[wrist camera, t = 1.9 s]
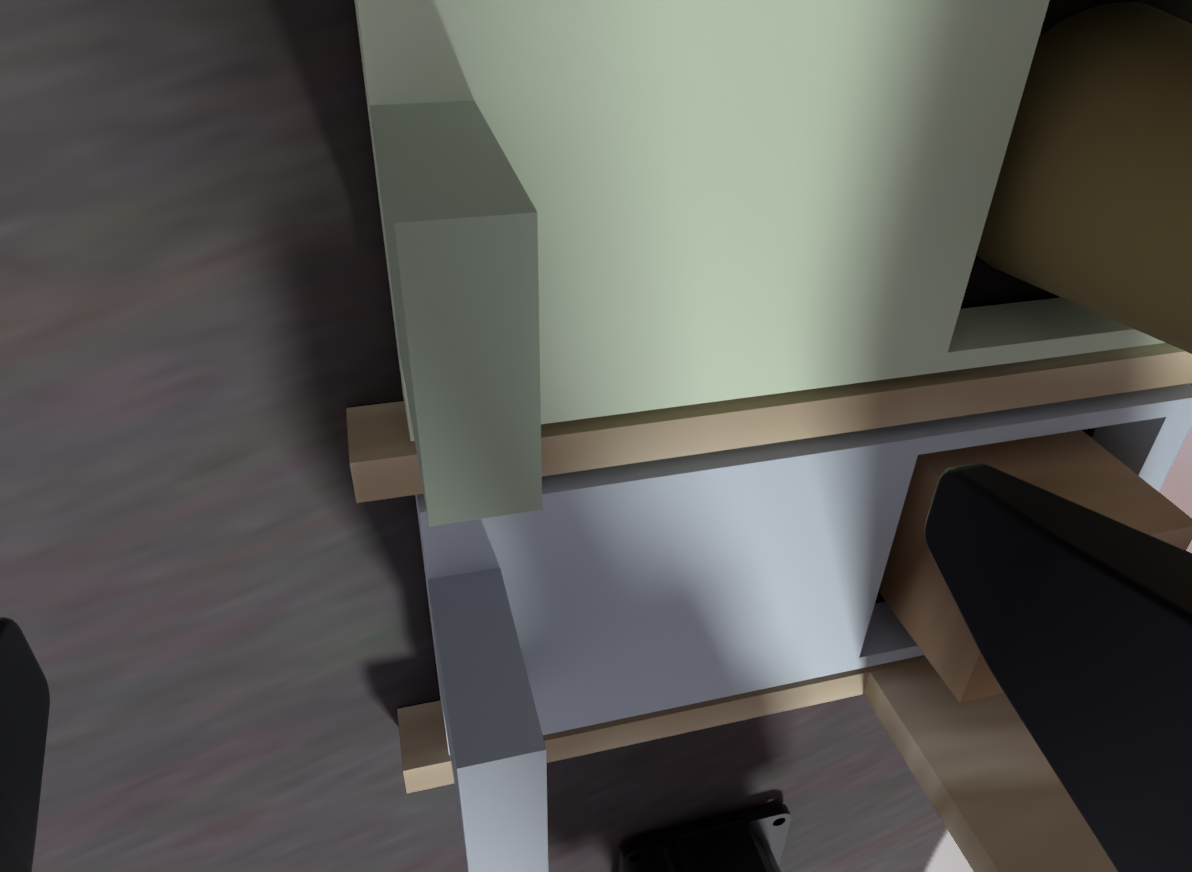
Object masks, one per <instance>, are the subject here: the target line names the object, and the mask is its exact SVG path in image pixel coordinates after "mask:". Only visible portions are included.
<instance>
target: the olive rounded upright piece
mask: <svg viewBox="0 0 1192 872" xmlns="http://www.w3.org/2000/svg"><path fill="white" fill-rule="evenodd" d="M976 255H977V256H978V257H979V258H981V259H982V260H983V261H984V262H985V263H987V264H988V265H989V266H990V267H993V268H995V269H997V270H999V271H1002V272H1004V273H1006V274H1009V275H1011V276H1013V277H1016V278H1018V279H1020V280H1022V281H1025V282H1027V283H1029V284H1032V285H1034V286H1036V287H1039V288H1041V289H1043V290H1046V291H1048V292H1050V293H1052V294H1055V295H1057V296H1059V297H1062V298H1064V299H1066V300H1069V301H1071V302H1073V303H1075V304H1078V305H1080V306H1082V307H1085V308H1087V309H1089V310H1092V311H1094V312H1096V313H1099V314H1101V315H1103V316H1105V317H1108V318H1110V319H1112V320H1115V321H1117V322H1119V323H1122V324H1124V325H1126V326H1128V327H1131V328H1133V329H1135V330H1138V331H1140V332H1142V333H1145V334H1147V335H1149V336H1151V337H1154V338H1156V339H1158V340H1161V341H1163V342H1165V343H1168V344H1170V345H1172V346H1175V347H1177V348H1179V349H1181V350H1184V351H1186V352H1188V353H1191V354H1192V24H1190V23H1188V22H1186V21H1184V20H1181V19H1179V18H1177V17H1175V16H1173V15H1171V14H1168V13H1166V12H1164V11H1162V10H1159V9H1157V8H1155V7H1152V6H1150V5H1148V4H1145V3H1143V2H1141V1H1140V2H1120V3H1102V4H1099V5H1097V6H1095V7H1092V8H1090V9H1088V10H1085V11H1083V12H1080V13H1078V14H1076V15H1073V16H1071V17H1068V18H1066V19H1064V20H1061V21H1059V22H1058V23H1057V24H1055V25H1054V26H1053V27H1052V28H1050V29H1049V30H1048V31H1046V32H1045V33H1044V34H1043V35H1041V36H1040V37H1039V39H1038V42H1037V46H1036V49H1035V53H1034V56H1033V59H1032V63H1031V66H1030V70H1029V73H1028V77H1027V80H1026V84H1025V87H1024V90H1023V94H1022V97H1021V101H1020V104H1019V108H1018V111H1017V115H1016V118H1015V122H1014V125H1013V128H1012V132H1011V135H1010V139H1009V142H1008V146H1007V149H1006V153H1005V156H1004V160H1003V163H1002V166H1001V170H1000V173H999V177H998V180H997V184H996V187H995V191H994V194H993V197H992V201H991V204H990V208H989V211H988V215H987V218H986V222H985V225H984V229H983V232H982V235H981V239H980V242H979V246H978V249H977V253H976Z"/></svg>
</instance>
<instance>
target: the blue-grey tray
mask: <svg viewBox="0 0 1192 872" xmlns="http://www.w3.org/2000/svg"><path fill="white" fill-rule="evenodd" d="M1191 425H1192V386H1191V385H1190V384H1181V385H1174V386H1167V387H1160V388H1153V389H1146V390H1139V391H1132V392H1125V393H1118V394H1111V395H1104V396H1097V397H1090V398H1084V399H1077V400H1070V401H1063V402H1056V403H1049V404H1042V405H1035V406H1028V407H1021V408H1014V409H1007V410H1000V411H993V412H986V413H979V414H972V415H966V416H959V417H952V418H945V419H938V420H931V421H924V422H917V423H910V424H903V425H896V426H889V427H882V428H875V429H868V430H861V431H854V432H848V433H841V434H834V435H827V436H820V437H813V438H806V439H799V440H792V441H785V442H778V443H771V444H764V445H757V446H750V447H743V448H736V449H730V450H723V451H716V452H709V453H702V454H695V455H688V456H681V457H674V458H667V459H660V460H653V461H646V462H639V463H632V464H625V465H618V466H612V467H605V468H598V469H591V470H584V471H577V472H570V473H563V474H556V475H549V476H542V510H536V511H529V512H522V513H516V514H509V515H503V516H496V517H490V518H483V519H477V520H470V521H463V522H457V523H450V524H444V525H437V526H431V527H429V523H428V517H427V511H426V505H425V500H424V494H417V495H415V496H416V504H417V512H418V521H419V529H420V537H421V545H422V553H423V561H424V569H425V577H426V586H427V594H428V602H429V610H430V618H431V626H432V634H433V642H434V650H435V659H436V667H437V675H438V683H439V691H440V699H441V706H442V713H443V719H444V726H445V733H446V740H447V746H448V753H449V755H450V757H451V764H452V771H453V777H454V784H455V790H456V797H457V804H458V810H459V817H460V824H461V830H462V837H463V844H464V850H465V857H466V864H467V870H468V872H548V822H547V762H546V746H545V743H544V739H543V735H547V734H552V733H557V732H561V731H566V730H571V729H576V728H580V727H585V726H590V725H595V724H599V723H604V722H609V721H614V720H618V719H623V718H628V717H633V716H637V715H642V714H647V713H652V712H656V711H661V710H666V709H671V708H675V707H680V706H685V705H690V704H694V703H699V702H704V701H709V700H713V699H718V698H723V697H728V696H732V695H737V694H742V693H747V692H751V691H756V690H761V689H765V688H770V687H775V686H780V685H784V684H789V683H794V682H799V681H803V680H808V679H813V678H818V677H822V676H827V675H832V674H837V673H841V672H846V671H851V670H856V669H860V668H865V667H870V666H875V665H879V664H884V663H889V662H894V661H898V660H903V659H908V658H913V657H917V656H922V655H924V654H923V652H922V651H921V650H920V648H919V647H918V645H917V644H916V643H915V641H914V640H913V639H912V637H911V636H910V634H909V633H908V632H907V630H906V629H905V628H904V626H903V625H902V623H901V622H900V621H899V619H898V618H897V617H896V615H895V614H894V612H893V611H892V610H891V608H890V607H889V606H888V604H887V603H886V602H881V603H876V604H875V601H876V598H877V594H878V591H879V588H880V584H881V581H882V577H883V574H884V570H885V567H886V563H887V560H888V556H889V553H890V550H891V546H892V543H893V539H894V536H895V532H896V529H897V525H898V522H899V518H900V515H901V512H902V508H903V505H904V501H905V498H906V494H907V491H908V487H909V484H910V481H911V477H912V474H913V470H914V467H915V463H916V460H917V456H918V455H921V454H927V453H934V452H940V451H947V450H953V449H960V448H966V447H973V446H979V445H986V444H992V443H999V442H1005V441H1012V440H1018V439H1025V438H1032V437H1038V436H1045V435H1051V434H1058V433H1064V432H1071V431H1077V430H1084V429H1090V428H1096V429H1095V431H1094V434H1093V436H1092V439H1094V440H1095V441H1096V442H1097V443H1099V444H1100V445H1101V446H1102V447H1103V448H1105V449H1106V450H1107V451H1108V452H1110V453H1111V454H1112V455H1113V456H1115V457H1116V458H1117V459H1118V460H1120V461H1121V462H1122V463H1123V464H1125V465H1126V466H1127V467H1128V468H1130V469H1131V470H1132V471H1133V472H1134V473H1136V474H1137V475H1138V476H1139V477H1141V478H1142V479H1143V480H1144V481H1146V482H1147V483H1148V484H1149V485H1151V486H1152V487H1153V488H1154V489H1156V490H1157V491H1158V492H1159V489H1160V487H1161V486H1162V483H1163V481H1164V479H1165V478H1166V476H1167V473H1168V471H1169V470H1170V468H1171V466H1172V463H1173V461H1174V460H1175V458H1176V456H1177V454H1178V452H1179V449H1180V448H1181V446H1182V444H1183V442H1184V440H1185V438H1186V436H1187V434H1188V432H1189V430H1190V428H1191Z"/></svg>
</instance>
